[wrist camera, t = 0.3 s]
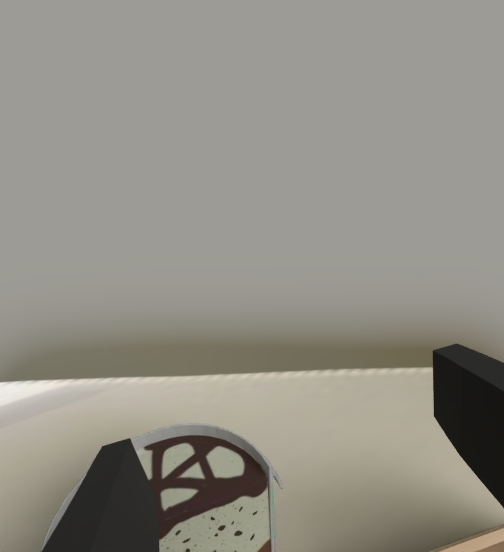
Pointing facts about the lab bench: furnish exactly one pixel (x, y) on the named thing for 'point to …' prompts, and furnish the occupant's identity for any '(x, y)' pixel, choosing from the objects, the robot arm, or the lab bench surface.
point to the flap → (475, 541)
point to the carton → (493, 548)
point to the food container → (205, 490)
